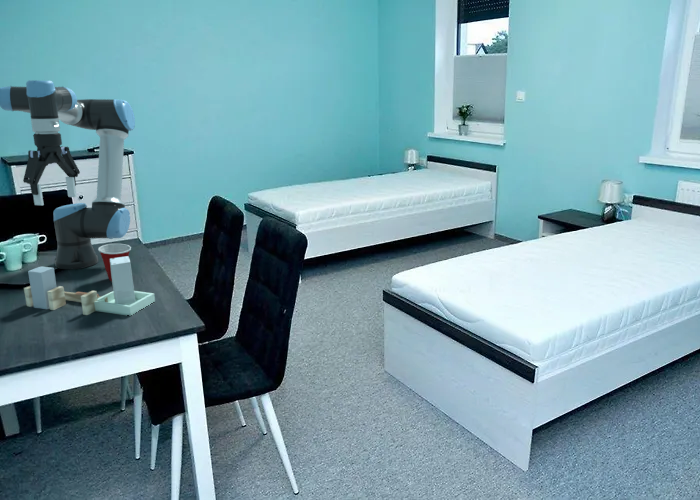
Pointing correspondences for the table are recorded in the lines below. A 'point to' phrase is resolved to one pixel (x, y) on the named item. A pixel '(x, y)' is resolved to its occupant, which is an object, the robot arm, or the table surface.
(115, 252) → the plastic cup
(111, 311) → the tray
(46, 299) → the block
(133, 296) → the skincare box
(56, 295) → the beige elongated piece
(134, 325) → the table surface
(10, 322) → the table surface
